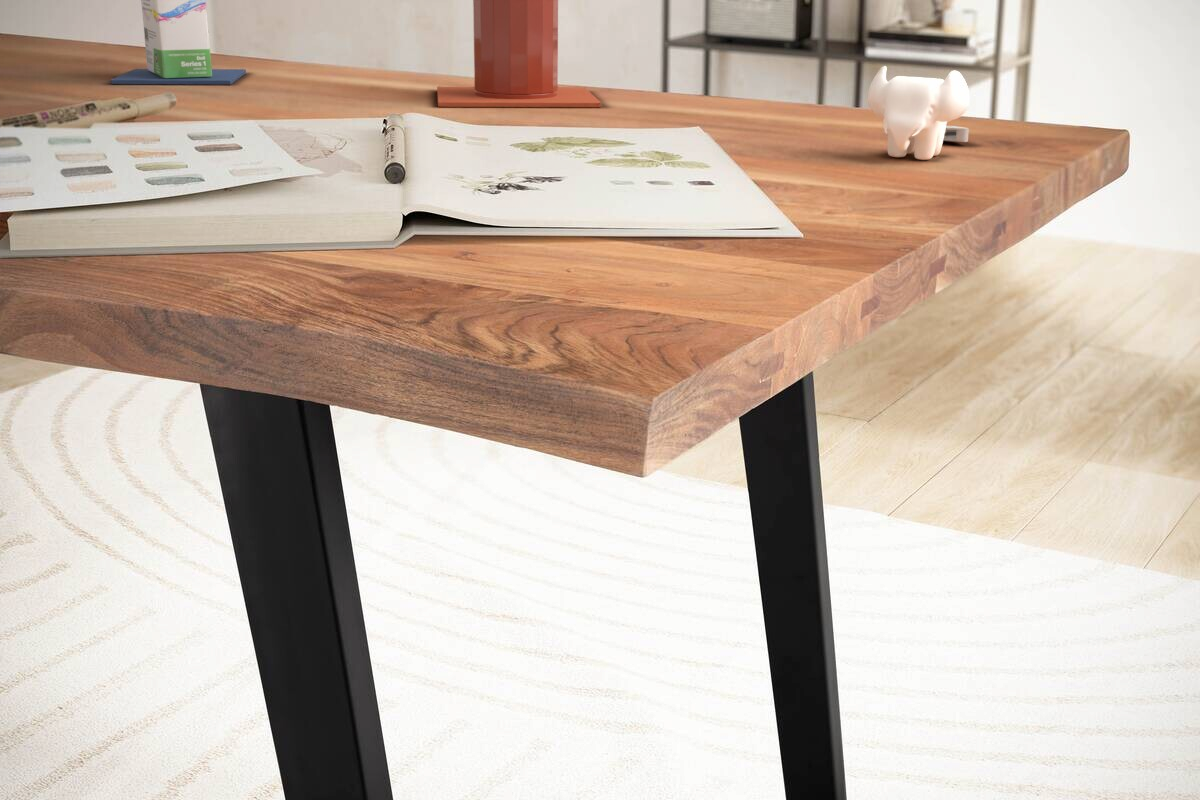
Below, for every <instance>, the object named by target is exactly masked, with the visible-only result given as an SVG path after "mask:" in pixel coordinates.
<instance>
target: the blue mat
mask: <svg viewBox="0 0 1200 800" xmlns="http://www.w3.org/2000/svg"><path fill="white" fill-rule="evenodd" d="M246 74H247V69H246V68H245V69H243V68H241V69H240V68H239V69H238V68H235V69H233V68H222V69H221V68H212V77H187V78H162V77H160V76H158V75H156V74H155V73H153V72H151V71H149V70H148V68H134V69H132V70H130V71H127V72H125V73H123V74H121V75H118V76H116V77H114V78H111V79H110V85H181V86H182V85H183V86H184V85H193V86H194V85H196V86H199V85H202V86H204V85H205V86H206V85H207V86H208V85H211V86H213V85H214V86H215V85H216V86H217V85H218V86H219V85H221V86H230V85H232V84H233V83H235V82H236V81H238V80H239V79H240V78H242V77H244V75H246Z"/></svg>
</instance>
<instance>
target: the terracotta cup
mask: <svg viewBox="0 0 1200 800" xmlns="http://www.w3.org/2000/svg"><path fill="white" fill-rule="evenodd" d="M472 8H473V9H472V24H473V25H472V26H473V27H472V28H473V30H472V32H473V35H472V36H473V87H474V89H475V95H477V96H480V97H487V98H497V99H541V98H550V97H555V96H557V90H558V87H559V86H558V85H559V84H558V82H559V80H558V75H559V74H558V73H559V72H558V71H559V70H558V66H559V63H558V62H559V0H472Z"/></svg>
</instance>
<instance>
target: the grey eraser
mask: <svg viewBox="0 0 1200 800" xmlns="http://www.w3.org/2000/svg"><path fill="white" fill-rule="evenodd" d="M969 132H970V128H969V127H964V126H957V125H946V129H945V134H944V139H943V142H951V143H967V142H968V141H969Z"/></svg>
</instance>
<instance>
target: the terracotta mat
mask: <svg viewBox="0 0 1200 800" xmlns="http://www.w3.org/2000/svg"><path fill="white" fill-rule="evenodd" d="M436 92H437V93H436V94H437V96H436V97H437V107H438V108H602V101H600V100H599V99H598V98H597V97H596V96H595V95H593V93H592V92H591V91H590V90H589V89H587V88H586V87H575V86H574V87H573V86H572V87H570V86H569V87H564V86H562V87H560V86H558V90H557V96H555V97H550V98H541V99H497V98H487V97H480V96H477V95H475V89H474V86H436Z"/></svg>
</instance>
